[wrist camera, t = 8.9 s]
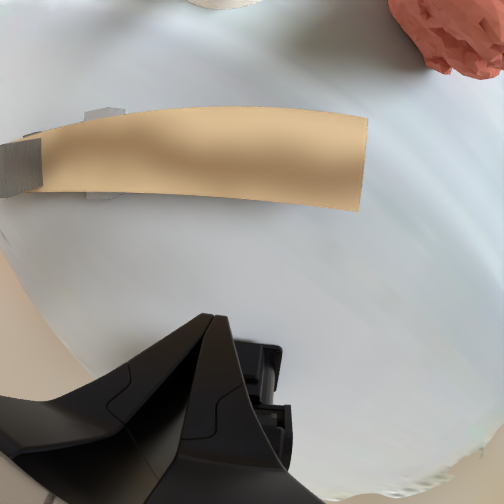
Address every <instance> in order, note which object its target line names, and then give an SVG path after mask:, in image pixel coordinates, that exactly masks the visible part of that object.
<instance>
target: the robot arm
mask: <svg viewBox="0 0 504 504" xmlns="http://www.w3.org/2000/svg"><path fill="white" fill-rule="evenodd" d="M275 351H279V352H275ZM282 351H283V350H282V348H281V347H279V346H270V345H260V344H250V343H241V342H234V340H233V336H232V332H231V329H230V325H229V321H228V317H227V316H222V315H215V316H214V315H213V314H207V313H201V314H199V315H198V316H196V317H195V318H193V319H192V320H190V321H189V322H187V323H186V324H184V325H183V326H181V327H180V328H178V329H177V330H175V331H174V332H172V333H171V334H169V335H168V336H166V337H165V338H163V339H161V340H160V341H158V342H157V343H155V344H154V345H152V346H151V347H149V348H148V349H146V350H144V351H143V352H141V353H140V354H138V355H137V356H135V357H134V358H132V359H130V360H129V361H128V362H126V363H124V364H122V365H121V366H119V367H118V368H116V369H114V370H113V371H111V372H109V373H108V374H106V375H104V376H102V377H100V378H98V379H96V380H95V381H93V382H91V383H89V384H86V385H85V386H82V387H81V388H78V389H76V390H74V391H72V392H70V393H68V394H65V395H63V396H61V397H59V398H56V399H53V400H49V401H30V400H23V399H17V398H11V397H5V396H0V504H326V503H324V502H323V501H322V500H321V499H319V498H318V497H317V496H315V495H314V494H313V493H312V492H310V491H309V490H308V489H307V488H306V487H304V486H303V485H302V484H301V483H300V482H298V481H297V480H296V479H295V478H294V477H293V476H292V475H290V474H289V473H288V469H289V466H290V461H291V455H292V444H293V431H292V416H291V405H284V406H283V405H273V395H274V392H275V391H276V388H277V382H278V377H279V371H280V365H281V359H282Z"/></svg>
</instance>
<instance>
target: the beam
mask: <svg viewBox="0 0 504 504" xmlns="http://www.w3.org/2000/svg"><path fill="white" fill-rule="evenodd" d="M367 127H368V118H363V117H357V116H351V115H345V114H338V113H330V112H322V111H313V110H302V109H290V108H274V107H243V106H224V107H194V108H178V109H166V110H156V111H147V112H138V113H131V114H124V115H118V116H112V117H106V118H100V119H95V120H90V121H85V122H80V123H76V124H72V125H67V126H63V127H59V128H55V129H52V130H48V131H44V132H41V133H37V134H34V135H31V136H28V137H25V138H21V139H18V140H15V141H13V142H18V141H24V140H31V139H38V138H41V153H42V175H43V186H41V187H38V188H35V189H32V190H28V191H25V192H22V193H31V192H135V193H161V194H181V195H198V196H213V197H226V198H239V199H250V200H261V201H271V202H281V203H291V204H299V205H308V206H316V207H324V208H332V209H340V210H347V211H354V212H358V210H359V203H360V196H361V188H362V180H363V171H364V162H365V152H366V140H367ZM10 143H12V142H10Z"/></svg>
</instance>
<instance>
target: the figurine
mask: <svg viewBox="0 0 504 504" xmlns="http://www.w3.org/2000/svg"><path fill="white" fill-rule="evenodd" d="M189 1H190V2H192V3H193V4H196V5H198V6H201V7H205V8H210V9H234V8H239V7H244V6H248V5H251V4H254V3H257V2H259V1H261V0H189Z"/></svg>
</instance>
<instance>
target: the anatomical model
mask: <svg viewBox="0 0 504 504" xmlns="http://www.w3.org/2000/svg"><path fill="white" fill-rule="evenodd" d="M388 6H389V9H390V13H391V15H392V16H393V17H394V18H395V19H396V21H397V22H398V23H399V24H400V26H401V28H402V29H403V30H404V31H405V32H406V34H407V35H408V36H409V37H410V38H411V39H412V40H413V42H414V43H415V44H416V46H417V47H418V49H419V50H420V52H421V53H422V55H423V58H424V61H425V65H426V66H427V67H429V68H432V69H434V70H436V71H438V72H440V73H442V74H444V75H445V74H450V73H451V69H452V68H454V69H455V70H456V71H458V72H459V73H461V74H462V75H464V76H468V77H472V78H475V79H479V80H483V79H490V78H494V77H496V76H497V75H499V73H500V71H501V70H504V0H388Z"/></svg>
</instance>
